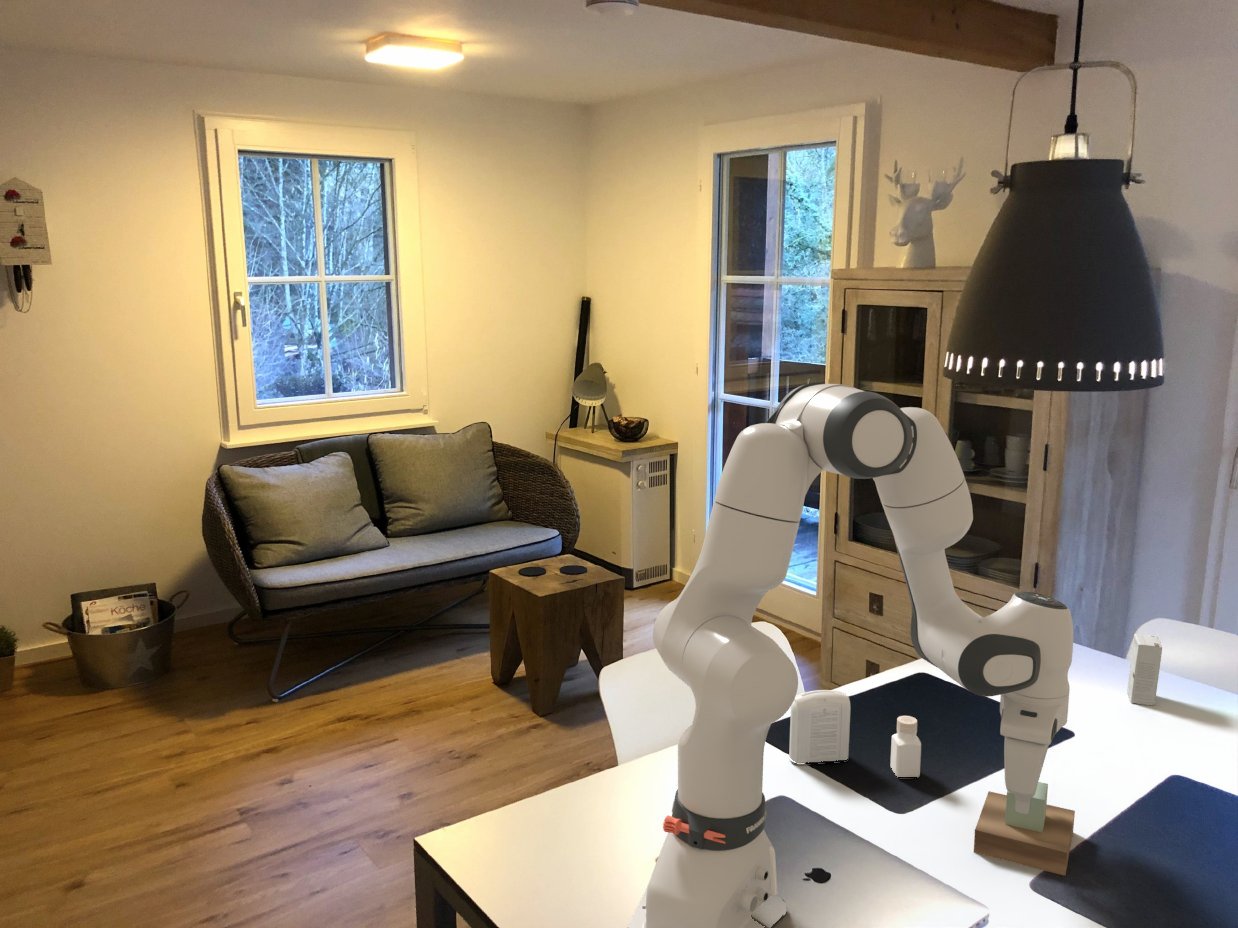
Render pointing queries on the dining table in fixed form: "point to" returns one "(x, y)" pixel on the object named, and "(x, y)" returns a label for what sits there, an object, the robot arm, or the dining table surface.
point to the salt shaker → (906, 748)
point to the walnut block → (1025, 837)
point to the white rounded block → (819, 726)
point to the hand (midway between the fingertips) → (1027, 795)
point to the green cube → (1036, 812)
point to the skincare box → (1144, 669)
